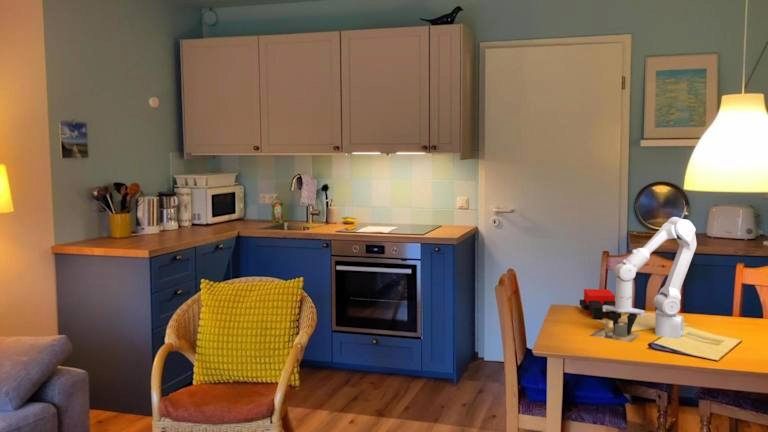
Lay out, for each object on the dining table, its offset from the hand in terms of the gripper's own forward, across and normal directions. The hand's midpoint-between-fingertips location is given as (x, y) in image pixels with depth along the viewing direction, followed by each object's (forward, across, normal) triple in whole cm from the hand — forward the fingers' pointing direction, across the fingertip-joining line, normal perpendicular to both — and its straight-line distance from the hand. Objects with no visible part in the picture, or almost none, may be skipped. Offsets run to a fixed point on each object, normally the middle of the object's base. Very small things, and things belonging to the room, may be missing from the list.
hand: (622, 332), depth 259 cm
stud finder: (+1, 0, 0) cm, 1 cm away
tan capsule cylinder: (+1, -3, -6) cm, 7 cm away
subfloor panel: (+2, -2, -2) cm, 4 cm away
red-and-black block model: (+2, -17, +29) cm, 33 cm away
